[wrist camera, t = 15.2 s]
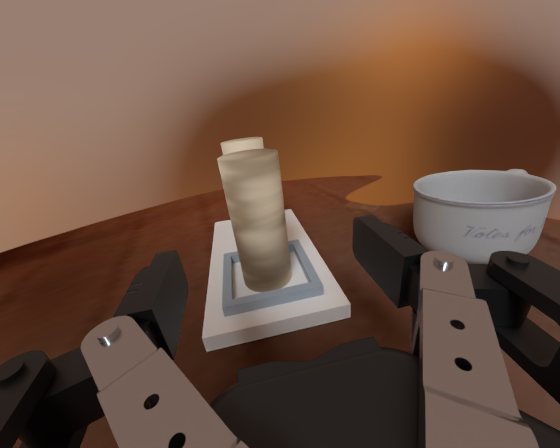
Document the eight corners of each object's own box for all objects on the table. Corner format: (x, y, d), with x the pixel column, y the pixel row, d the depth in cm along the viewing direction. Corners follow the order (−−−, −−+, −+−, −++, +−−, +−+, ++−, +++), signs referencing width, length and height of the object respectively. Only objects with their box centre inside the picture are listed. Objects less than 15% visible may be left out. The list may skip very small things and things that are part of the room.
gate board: (350, 317, 21) (351, 155, 15) (206, 351, 20) (148, 187, 14) (291, 217, 41) (282, 129, 35) (217, 231, 40) (194, 142, 34)
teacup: (465, 295, 22) (487, 211, 19) (386, 239, 32) (391, 177, 28) (582, 257, 25) (620, 177, 21) (477, 216, 34) (491, 157, 31)
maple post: (234, 281, 25) (204, 160, 20) (266, 257, 28) (248, 148, 23) (270, 299, 22) (246, 163, 17) (301, 271, 25) (289, 148, 20)
